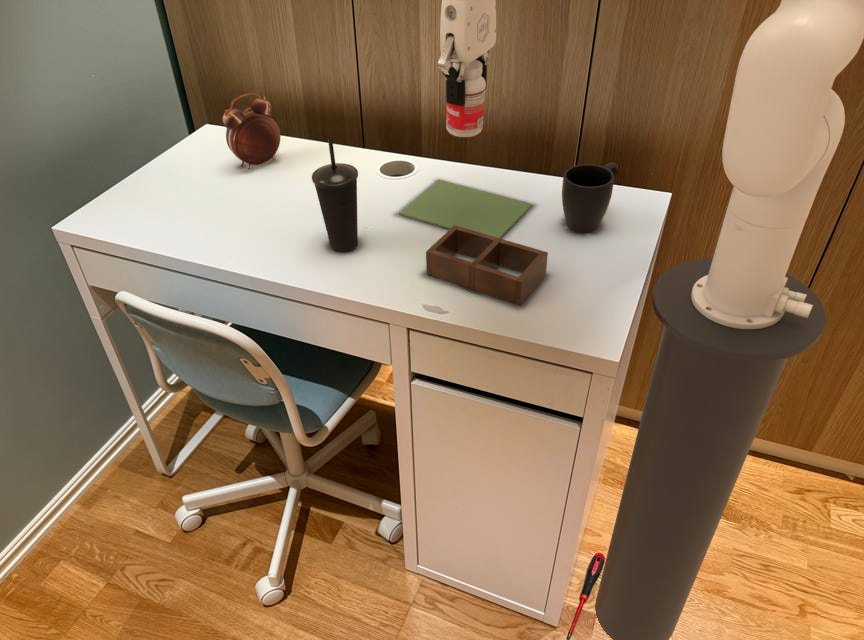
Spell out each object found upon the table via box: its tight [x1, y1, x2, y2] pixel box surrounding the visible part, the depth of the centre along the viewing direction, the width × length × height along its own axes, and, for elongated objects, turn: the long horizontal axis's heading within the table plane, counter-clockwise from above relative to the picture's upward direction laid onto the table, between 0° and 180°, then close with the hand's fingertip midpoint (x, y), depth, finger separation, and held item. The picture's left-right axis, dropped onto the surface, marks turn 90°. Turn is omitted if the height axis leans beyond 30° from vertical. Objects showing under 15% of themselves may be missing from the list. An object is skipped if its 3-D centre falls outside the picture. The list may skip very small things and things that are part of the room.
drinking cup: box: [311, 136, 359, 253], centre depth 119 cm, size 8×8×20 cm
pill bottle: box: [445, 60, 487, 138], centre depth 117 cm, size 6×6×11 cm
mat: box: [398, 179, 533, 239], centre depth 131 cm, size 20×14×1 cm
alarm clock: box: [222, 91, 281, 170], centre depth 146 cm, size 11×5×15 cm, turn 124°
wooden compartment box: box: [425, 225, 549, 306], centre depth 114 cm, size 17×9×4 cm, turn 55°
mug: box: [561, 162, 619, 234], centre depth 122 cm, size 8×12×10 cm
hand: (466, 95), depth 116 cm, fingers closed on pill bottle, 6 cm apart
